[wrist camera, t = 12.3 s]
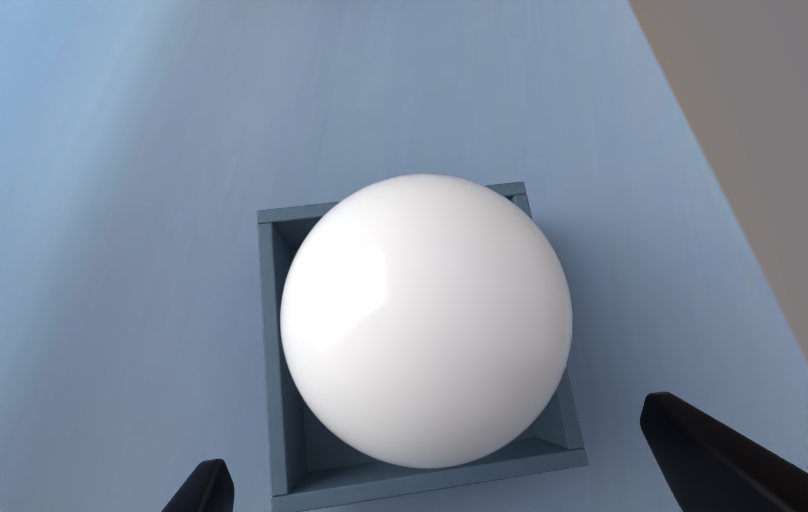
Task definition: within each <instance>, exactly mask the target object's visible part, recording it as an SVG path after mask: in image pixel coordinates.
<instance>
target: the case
mask: <svg viewBox="0 0 808 512" xmlns="http://www.w3.org/2000/svg"><path fill="white" fill-rule="evenodd" d="M485 187H488V188H490V189H492V190H494V191H495V192H497V193H499V194H501V195H502V196H504V197H505V198H507V199H508V200H510V201H511V202H513V203H514V204H515V205H517V206H518V207H519V208H520V209H521V210H523V211H524V212H525V213H526V214H527V215H528V216H529V217H530V218H531V219H532V216H531V212H530V207H529V203H528V198H527V195H526V190H525V185H524V182H514V183H505V184H496V185H487V186H485ZM338 203H339V202H332V203H323V204H314V205H305V206H296V207H287V208H278V209H269V210H259V211H257V223H258V243H259V263H260V283H261V302H262V322H263V342H264V362H265V381H266V401H267V421H268V441H269V461H270V480H271V495H272V499H271V501H272V512H302V511H308V510H314V509H321V508H327V507H333V506H339V505H345V504H352V503H358V502H364V501H370V500H376V499H383V498H389V497H395V496H401V495H407V494H414V493H420V492H426V491H432V490H438V489H445V488H451V487H457V486H463V485H469V484H476V483H482V482H488V481H494V480H500V479H507V478H513V477H519V476H525V475H531V474H538V473H544V472H550V471H556V470H562V469H569V468H575V467H581V466H587V465H588V462H587V457H586V453H585V449H584V448H583V447H584V444H583V440H582V435H581V431H580V427H579V422H578V418H577V413H576V409H575V405H574V400H573V396H572V392H571V387H570V383H569V378H568V374H567V370H566V368H565V371H564V373H563V376H562V378H561V381H560V383H559V385H558V387H557V389H556V391H555V393H554V395H553V396H552V398H551V400H550V401H549V403H548V404H547V406H546V407H545V409H544V410H543V411H542V413H541V414H540V415H539V416H538V418H537V419H536V420H535V421H534V422H533V423H532V424H531V425H530V426H529V427H528V428H527V429H526V430H525V431H524V432H523V433H522V434H520V435H519V436H518V437H517V438H515V439H514V440H513V441H511V442H510V443H508V444H507V445H505V446H504V447H502V448H501V449H499V450H497V451H495V452H493V453H491V454H489V455H487V456H485V457H483V458H480V459H478V460H475V461H472V462H469V463H466V464H462V465H457V466H452V467H446V468H434V469H422V468H410V467H403V466H398V465H393V464H390V463H386V462H383V461H380V460H377V459H375V458H372V457H370V456H368V455H365V454H363V453H362V452H360V451H358V450H356V449H354V448H352V447H351V446H349V445H348V444H346V443H345V442H343V441H342V440H341V439H339V438H338V437H337V436H335V435H334V434H333V433H332V432H331V431H330V430H328V429H327V428H326V427H325V426H324V425H323V424H322V423H321V422H320V421H319V419H318V418H317V417H316V416H315V415H314V414H313V412H312V411H311V410H310V408H309V407H308V406H307V404H306V403H305V401H304V400H303V398H302V396H301V395H300V393H299V391H298V389H297V387H296V385H295V383H294V381H293V379H292V376H291V374H290V371H289V368H288V365H287V362H286V359H285V355H284V351H283V345H282V339H281V329H280V312H281V301H282V295H283V289H284V285H285V281H286V278H287V275H288V272H289V269H290V266H291V264H292V262H293V259H294V257H295V255H296V253H297V251H298V249H299V248H300V246H301V244H302V243H303V241H304V239H305V238H306V236H307V235H308V234H309V232H310V231H311V230H312V228H313V227H314V226H315V225H316V223H317V222H318V221H319V220H320V219H321V218H322V217H323V216H324V215H325V214H326V213H327V212H328V211H329V210H330V209H332V208H333V207H334V206H335V205H336V204H338Z"/></svg>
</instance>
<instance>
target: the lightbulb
mask: <svg viewBox="0 0 808 512" xmlns="http://www.w3.org/2000/svg"><path fill="white" fill-rule="evenodd" d="M280 329H281V339H282V345H283V351H284V355H285V359H286V362H287V365H288V368H289V371H290V374H291V376H292V379H293V381H294V383H295V385H296V387H297V389H298V391H299V393H300V395H301V396H302V398H303V400H304V401H305V403H306V404H307V406H308V407H309V408H310V410H311V411H312V412H313V414H314V415H315V416H316V417H317V418H318V419H319V421H320V422H321V423H322V424H323V425H324V426H325V427H326V428H327V429H328V430H330V431H331V432H332V433H333V434H334V435H335V436H337V437H338V438H339V439H341V440H342V441H343V442H345V443H346V444H348V445H349V446H351V447H352V448H354V449H356V450H358V451H360V452H362V453H363V454H365V455H368V456H370V457H372V458H375V459H377V460H380V461H383V462H386V463H390V464H393V465H398V466H403V467H410V468H422V469H434V468H446V467H452V466H457V465H462V464H466V463H469V462H472V461H475V460H478V459H480V458H483V457H485V456H487V455H489V454H491V453H493V452H495V451H497V450H499V449H501V448H502V447H504V446H505V445H507V444H508V443H510V442H511V441H513V440H514V439H515V438H517V437H518V436H519V435H520V434H522V433H523V432H524V431H525V430H526V429H527V428H528V427H529V426H530V425H531V424H532V423H533V422H534V421H535V420H536V419H537V418H538V416H539V415H540V414H541V413H542V411H543V410H544V409H545V407H546V406H547V404H548V403H549V401H550V400H551V398H552V396H553V395H554V393H555V391H556V389H557V387H558V385H559V383H560V381H561V378H562V376H563V373H564V371H565V368H566V364H567V361H568V357H569V353H570V348H571V342H572V332H573V312H572V302H571V296H570V291H569V286H568V282H567V279H566V276H565V273H564V270H563V268H562V265H561V263H560V260H559V258H558V256H557V254H556V252H555V250H554V249H553V247H552V245H551V244H550V242H549V241H548V239H547V238H546V236H545V235H544V233H543V232H542V231H541V229H540V228H539V227H538V226H537V225H536V223H535V222H534V221H533V220H532V219H531V218H530V217H529V216H528V215H527V214H526V213H525V212H524V211H523V210H521V209H520V208H519V207H518V206H517V205H515V204H514V203H513V202H511V201H510V200H508V199H507V198H505V197H504V196H502V195H501V194H499V193H497V192H495V191H494V190H492V189H490V188H488V187H485V186H483V185H481V184H478V183H476V182H473V181H470V180H467V179H463V178H459V177H455V176H449V175H442V174H409V175H402V176H397V177H392V178H388V179H385V180H381V181H379V182H376V183H373V184H371V185H368V186H366V187H364V188H362V189H360V190H358V191H356V192H354V193H353V194H351V195H349V196H348V197H346V198H345V199H343V200H342V201H340V202H339V203H338V204H336V205H335V206H334V207H333V208H332V209H330V210H329V211H328V212H327V213H326V214H325V215H324V216H323V217H322V218H321V219H320V220H319V221H318V222H317V223H316V225H315V226H314V227H313V228H312V230H311V231H310V232H309V234H308V235H307V236H306V238H305V239H304V241H303V243H302V244H301V246H300V248H299V249H298V251H297V253H296V255H295V257H294V259H293V262H292V264H291V266H290V269H289V272H288V275H287V278H286V281H285V285H284V289H283V295H282V301H281V312H280Z"/></svg>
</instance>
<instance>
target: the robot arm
mask: <svg viewBox="0 0 808 512" xmlns="http://www.w3.org/2000/svg"><path fill="white" fill-rule="evenodd" d="M640 426H641V430H642V432H643V434H644V436H645V438H646V440H647V442H648V444H649V446H650V448H651V450H652V452H653V454H654V457H655V459H656V461H657V463H658V465H659V467H660V469H661V471H662V473H663V475H664V477H665V479H666V481H667V483H668V485H669V487H670V489H671V491H672V493H673V495H674V497H675V499H676V501H677V502H678V504H679V506H680V507H681V509H682V511H683V512H808V473H807V472H805V471H803V470H801V469H800V468H798V467H796V466H795V465H793V464H791V463H789V462H788V461H786V460H784V459H783V458H781V457H779V456H777V455H776V454H774V453H772V452H771V451H769V450H767V449H765V448H764V447H762V446H760V445H759V444H757V443H755V442H754V441H752V440H750V439H748V438H747V437H745V436H743V435H742V434H740V433H738V432H736V431H735V430H733V429H731V428H730V427H728V426H726V425H724V424H723V423H721V422H719V421H718V420H716V419H714V418H712V417H711V416H709V415H707V414H706V413H704V412H702V411H700V410H699V409H697V408H695V407H694V406H692V405H690V404H688V403H687V402H685V401H683V400H682V399H680V398H678V397H677V396H675V395H673V394H671V393H669V392H656V393H650V394H648V395H647V396H646V398H645V402H644V406H643V409H642V413H641V417H640ZM233 503H234V484H233V481H232V479H231V476H230V474H229V471H228V469H227V466H226V464H225V462H224V460H222V459H213V460H207V461H203V462H201V463H200V464H199V465H198V466H197V467H196V468H195V470H194V471H193V472H192V473H191V475H190V476H189V477H188V479H187V480H186V481H185V482H184V484H183V485H182V486H181V487H180V489H179V490H178V491H177V493H176V494H175V495H174V496H173V498H172V499H171V500H170V501H169V503H168V504H167V505H166V506H165V508H164V509H163V510H162V512H233Z"/></svg>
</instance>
